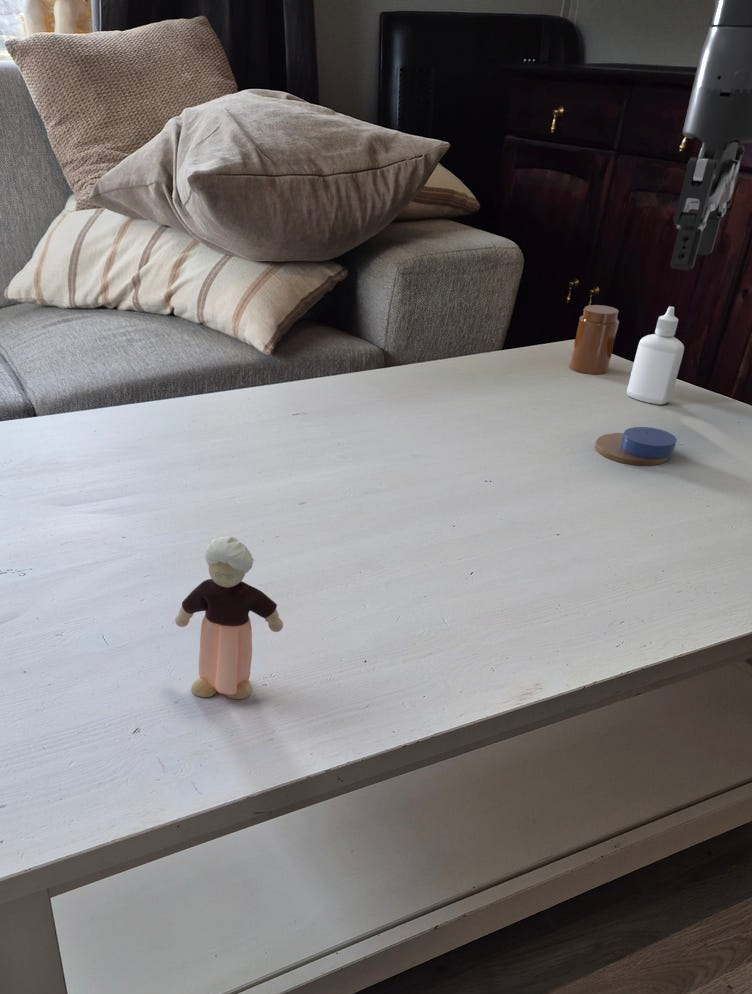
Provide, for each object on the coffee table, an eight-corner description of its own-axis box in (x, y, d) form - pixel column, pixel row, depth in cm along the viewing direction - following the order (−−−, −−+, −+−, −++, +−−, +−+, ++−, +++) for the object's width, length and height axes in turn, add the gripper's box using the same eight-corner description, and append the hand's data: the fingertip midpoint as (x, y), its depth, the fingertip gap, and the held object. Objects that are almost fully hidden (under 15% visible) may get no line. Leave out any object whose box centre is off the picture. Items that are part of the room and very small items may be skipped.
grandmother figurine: (178, 706, 67) (171, 553, 60) (177, 674, 70) (171, 526, 63) (282, 701, 68) (288, 550, 61) (277, 671, 71) (282, 523, 64)
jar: (586, 360, 137) (598, 302, 133) (615, 370, 134) (629, 311, 129) (561, 366, 135) (573, 307, 130) (591, 376, 131) (604, 316, 126)
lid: (671, 462, 105) (675, 449, 104) (618, 453, 106) (621, 440, 106) (674, 444, 109) (678, 431, 108) (623, 436, 111) (626, 423, 110)
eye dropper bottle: (645, 407, 121) (670, 314, 114) (621, 393, 126) (643, 302, 119) (674, 404, 122) (700, 312, 115) (649, 390, 127) (672, 300, 120)
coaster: (645, 435, 113) (647, 431, 113) (683, 463, 106) (685, 458, 106) (582, 439, 111) (583, 434, 111) (616, 467, 105) (617, 462, 104)
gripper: (711, 78, 95) (671, 245, 104) (676, 85, 85) (636, 269, 94) (790, 81, 91) (741, 254, 101) (764, 88, 82) (713, 279, 91)
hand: (690, 261), depth 97 cm, fingers open, 8 cm apart
